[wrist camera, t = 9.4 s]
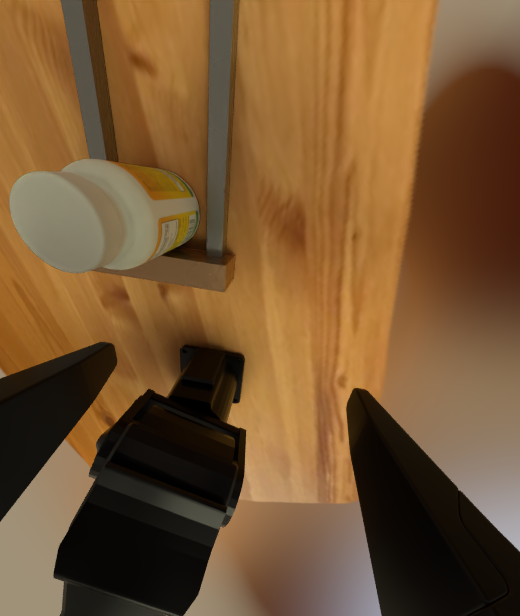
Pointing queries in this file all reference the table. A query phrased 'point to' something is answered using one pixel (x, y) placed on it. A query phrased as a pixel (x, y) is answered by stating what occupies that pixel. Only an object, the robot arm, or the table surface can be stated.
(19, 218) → the supplement bottle
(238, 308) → the table surface
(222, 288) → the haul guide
